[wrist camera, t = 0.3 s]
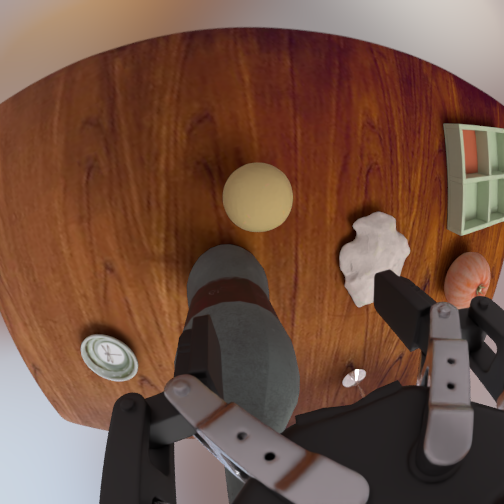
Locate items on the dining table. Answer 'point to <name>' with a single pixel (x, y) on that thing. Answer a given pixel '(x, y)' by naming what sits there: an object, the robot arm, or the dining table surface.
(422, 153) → the dining table surface
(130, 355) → the saucer
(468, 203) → the grid
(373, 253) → the decorative stone
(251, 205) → the light bulb
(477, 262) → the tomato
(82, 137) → the dining table surface
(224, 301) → the bottle
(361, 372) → the wineglass
